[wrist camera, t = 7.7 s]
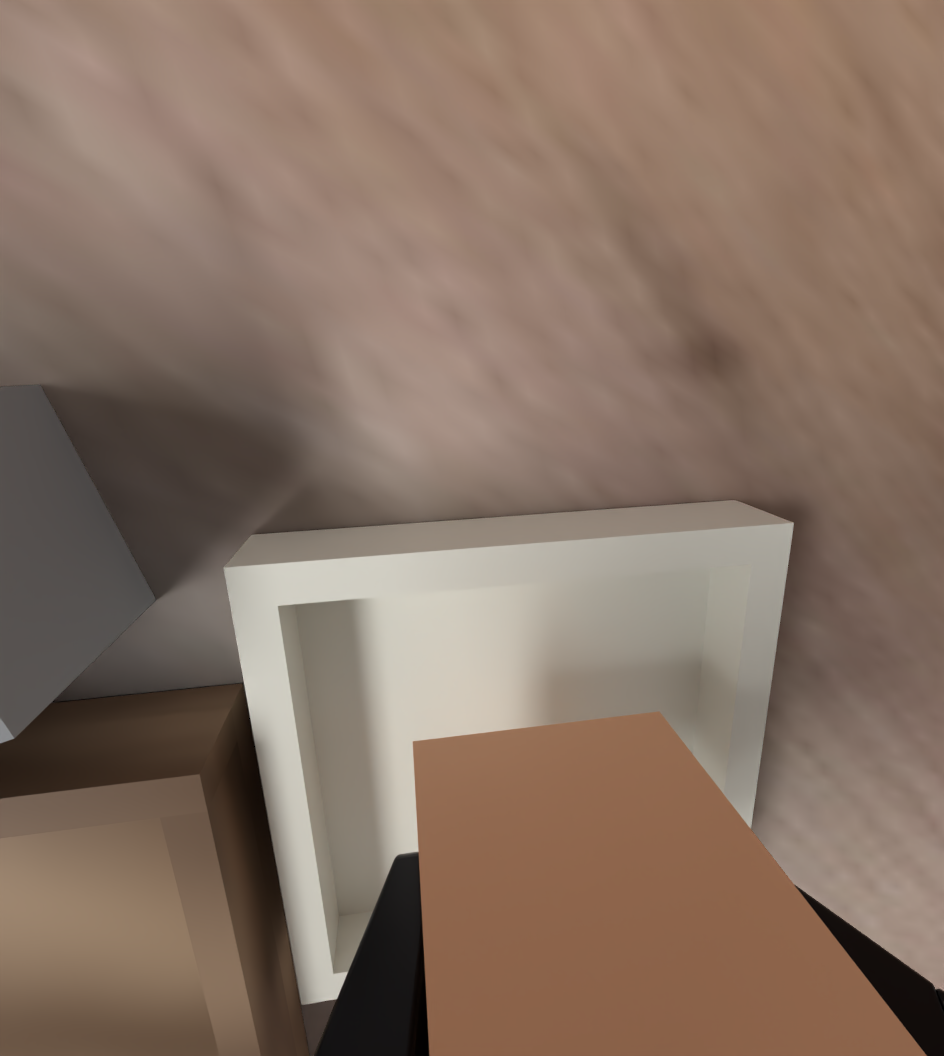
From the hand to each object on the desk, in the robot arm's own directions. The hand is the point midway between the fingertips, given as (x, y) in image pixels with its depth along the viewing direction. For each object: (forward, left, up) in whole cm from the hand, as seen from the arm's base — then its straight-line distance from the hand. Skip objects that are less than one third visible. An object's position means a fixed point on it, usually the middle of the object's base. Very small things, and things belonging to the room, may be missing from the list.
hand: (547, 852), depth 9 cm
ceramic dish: (0, 0, -3) cm, 3 cm away
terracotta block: (0, 0, 0) cm, 0 cm away
